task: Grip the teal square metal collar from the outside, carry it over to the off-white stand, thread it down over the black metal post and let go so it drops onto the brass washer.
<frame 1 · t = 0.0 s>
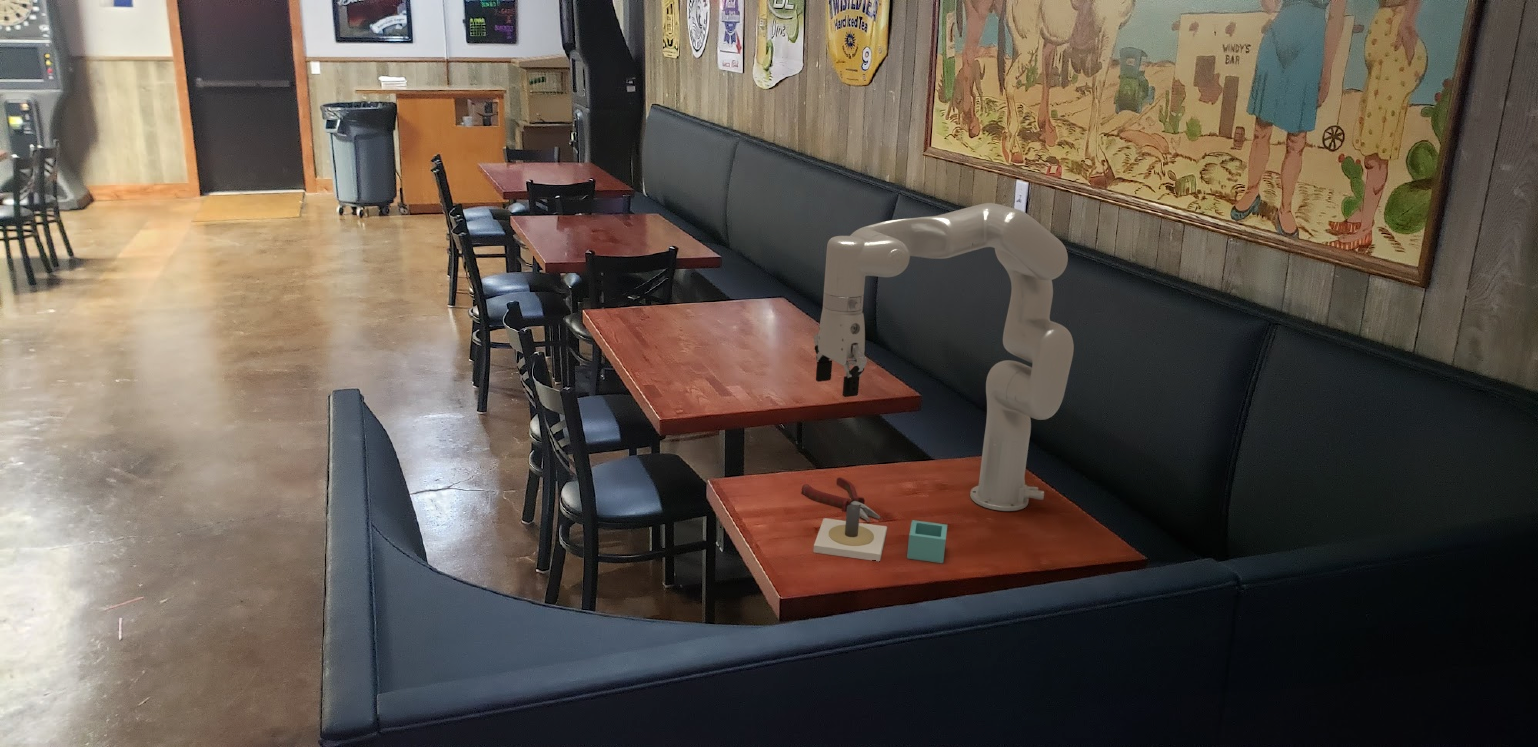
hand: (836, 388, 219), 31 cm above the table, tool pointing down, fingers open, 9 cm apart
pliers: (838, 506, 244), on the table
collar: (926, 552, 223), on the table
post stand: (850, 542, 226), on the table
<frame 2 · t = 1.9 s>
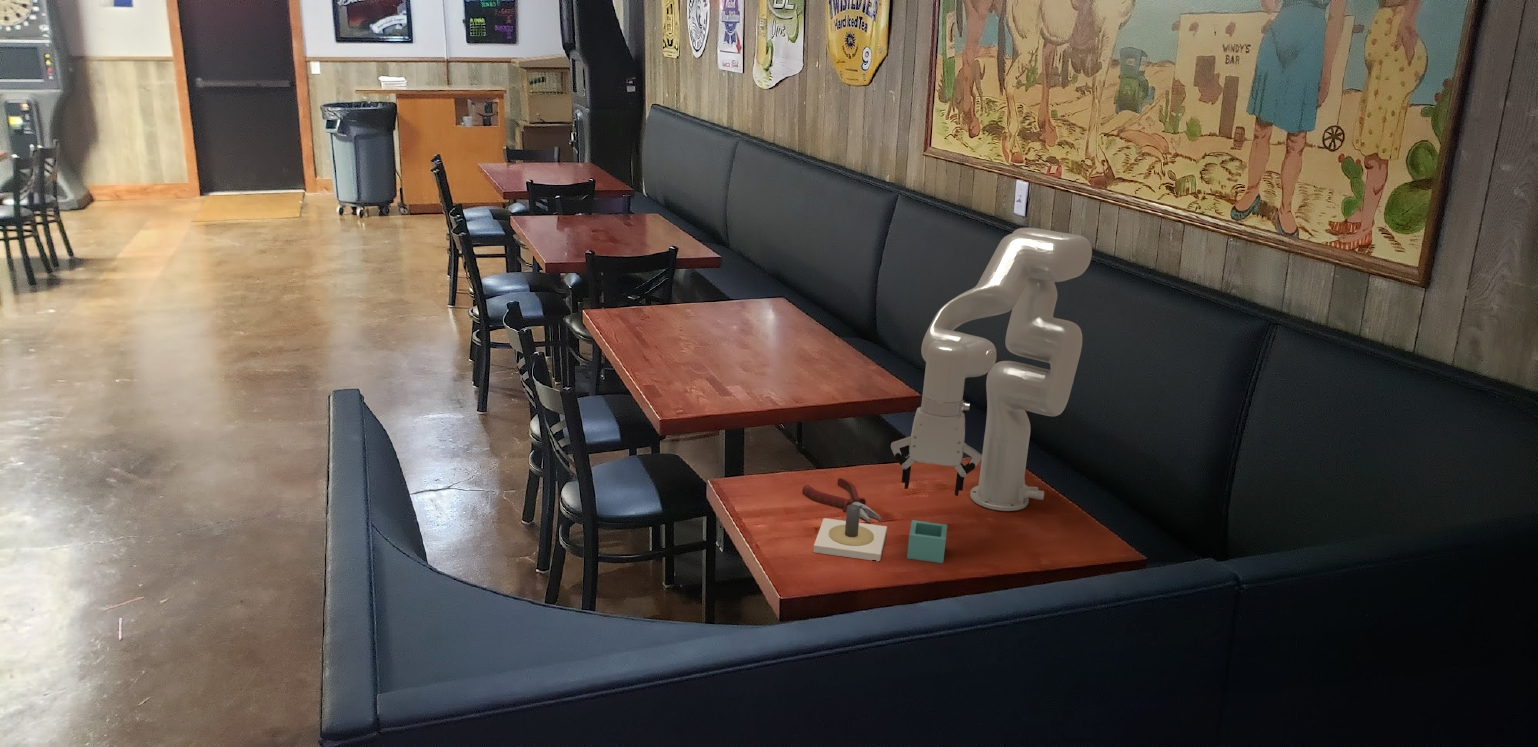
hand: (931, 489, 219), 14 cm above the table, tool pointing down, fingers open, 9 cm apart
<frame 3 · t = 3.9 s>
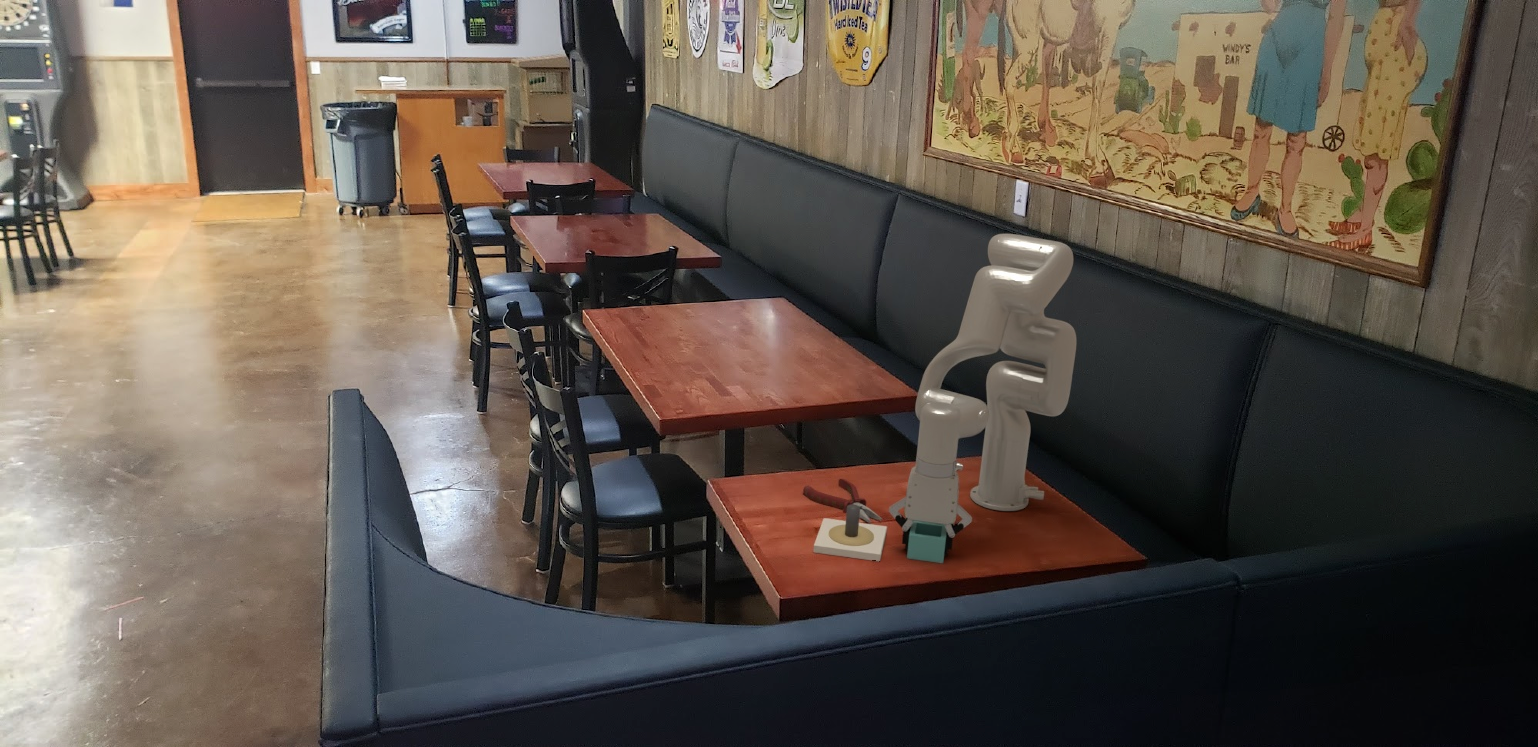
hand: (926, 549, 223), 1 cm above the table, tool pointing down, fingers closed on collar, 7 cm apart
collar: (926, 552, 223), on the table, touching gripper
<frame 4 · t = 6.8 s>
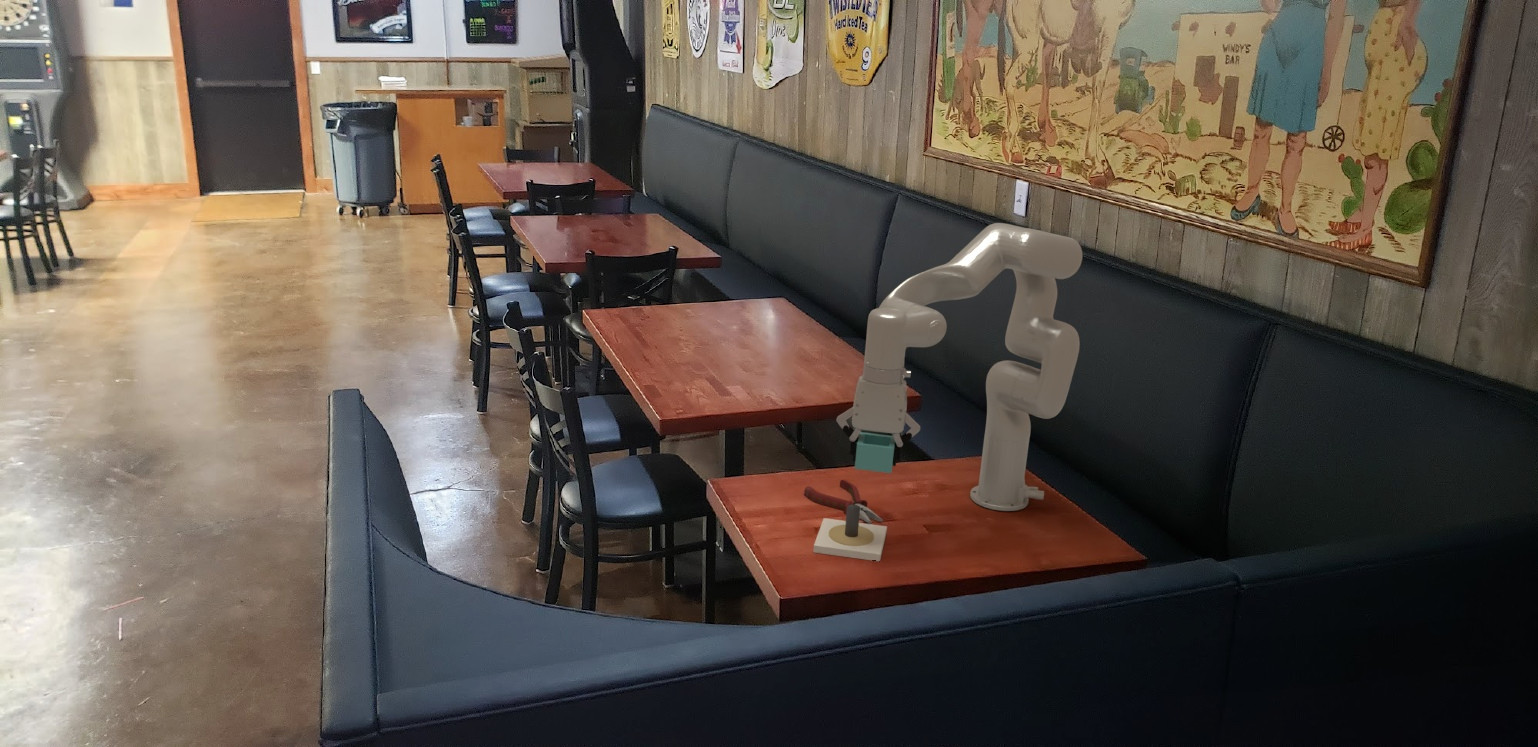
hand: (874, 460, 220), 18 cm above the table, tool pointing down, fingers closed on collar, 7 cm apart
collar: (874, 464, 220), point 17 cm above the table, touching gripper
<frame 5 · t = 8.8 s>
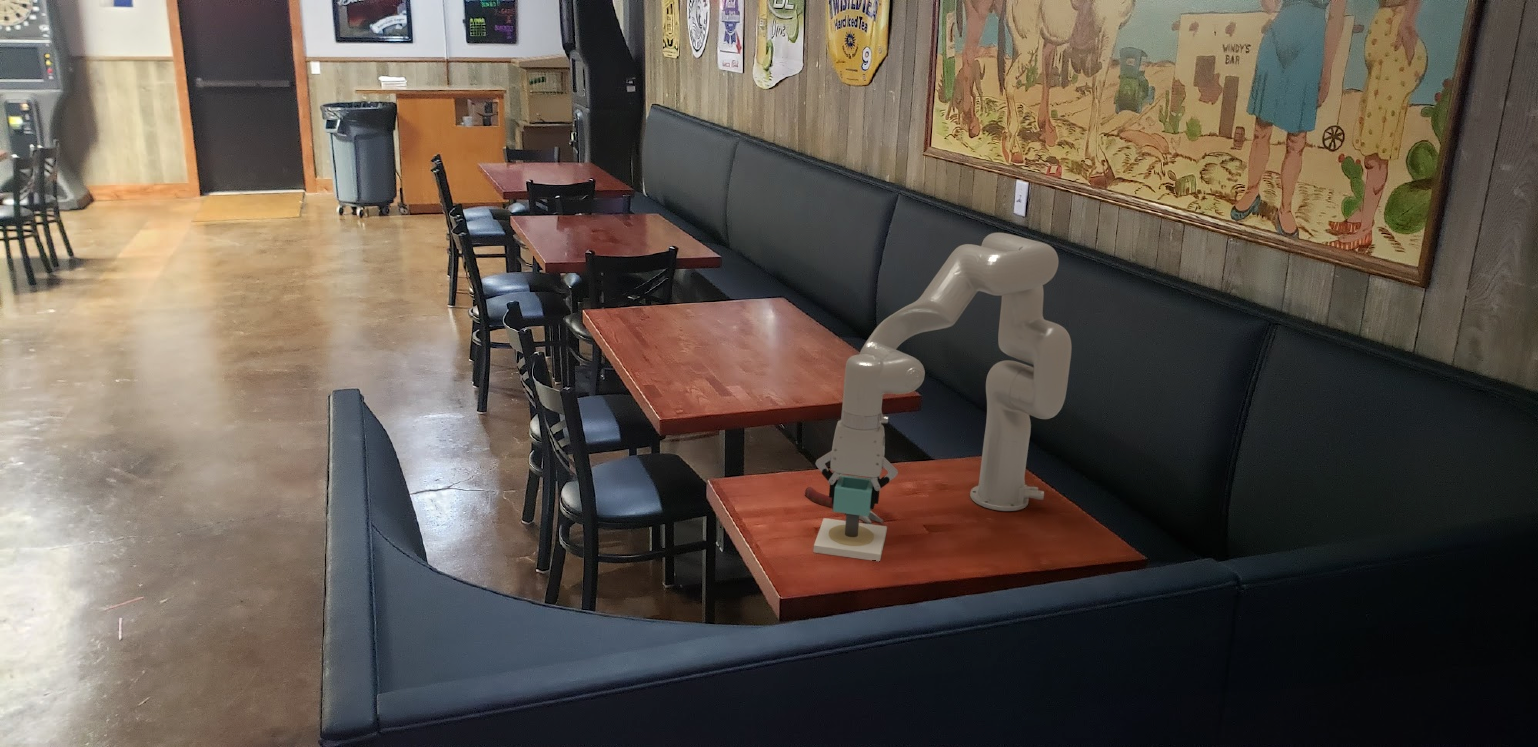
hand: (853, 503, 223), 9 cm above the table, tool pointing down, fingers closed on collar, 7 cm apart
collar: (852, 506, 223), point 8 cm above the table, touching gripper
when the fingers open (7 cm above the table, at t = 10.1 s): collar drops 4 cm, resting on post stand.
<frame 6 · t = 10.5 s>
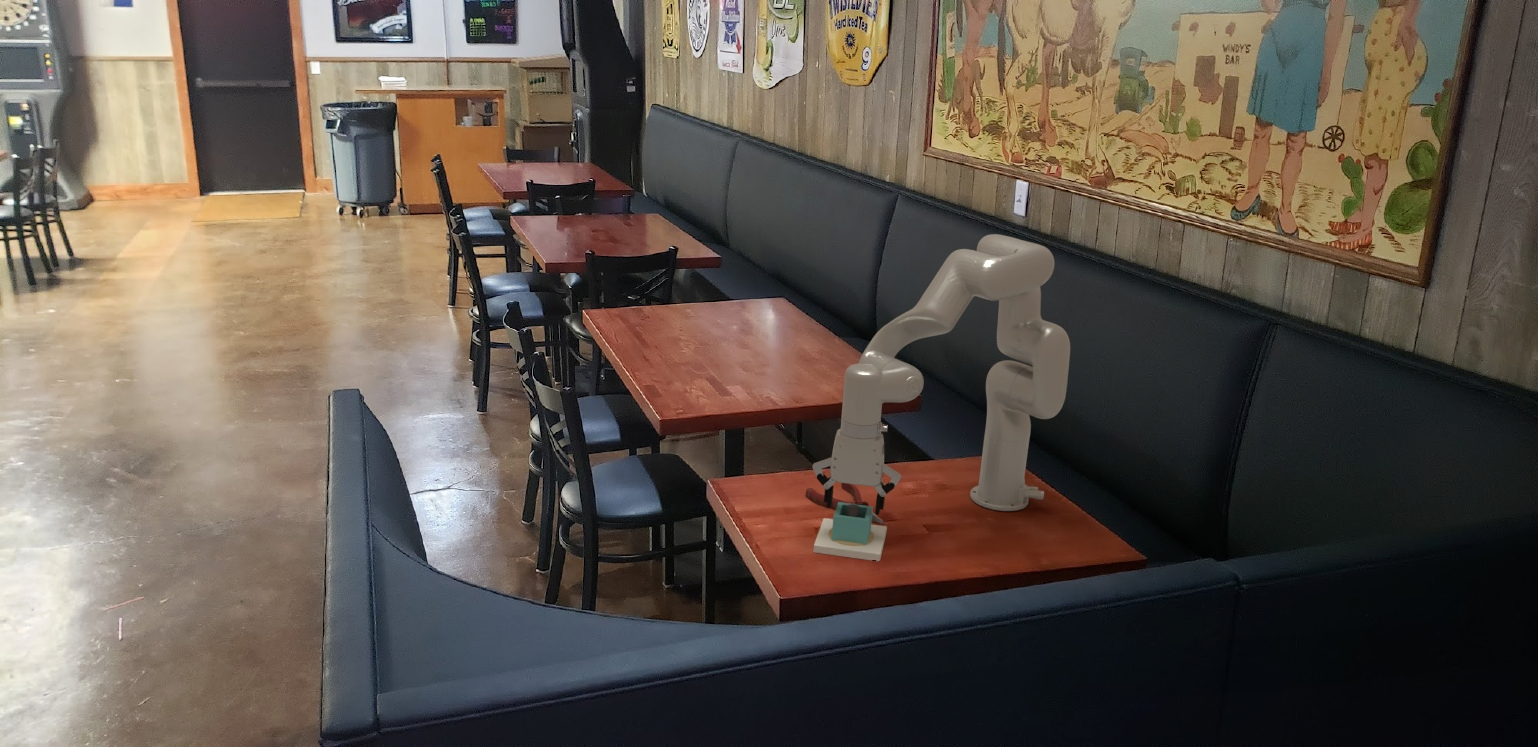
hand: (853, 508, 224), 7 cm above the table, tool pointing down, fingers open, 9 cm apart
collar: (851, 534, 225), point 2 cm above the table, touching post stand
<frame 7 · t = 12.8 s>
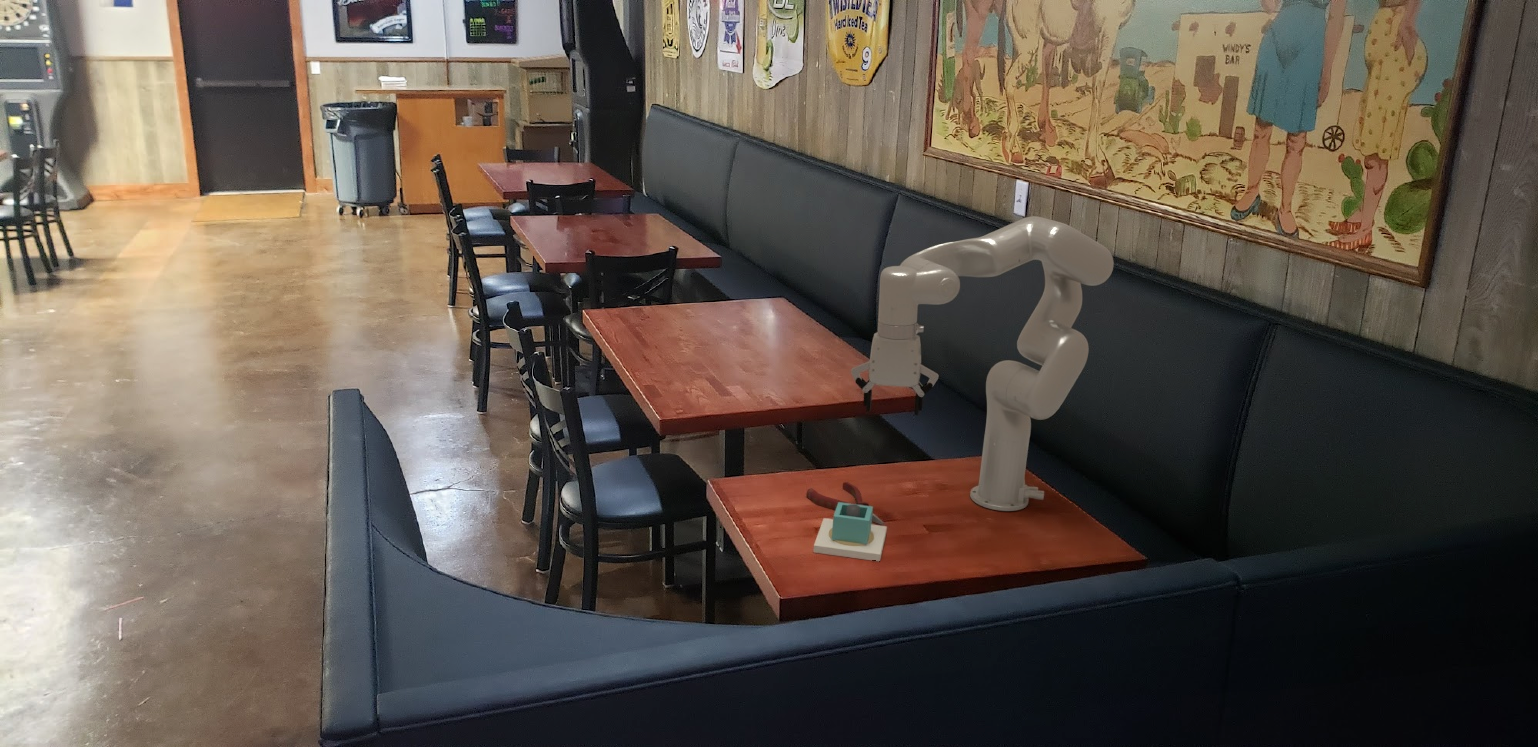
hand: (892, 411, 228), 25 cm above the table, tool pointing down, fingers open, 9 cm apart
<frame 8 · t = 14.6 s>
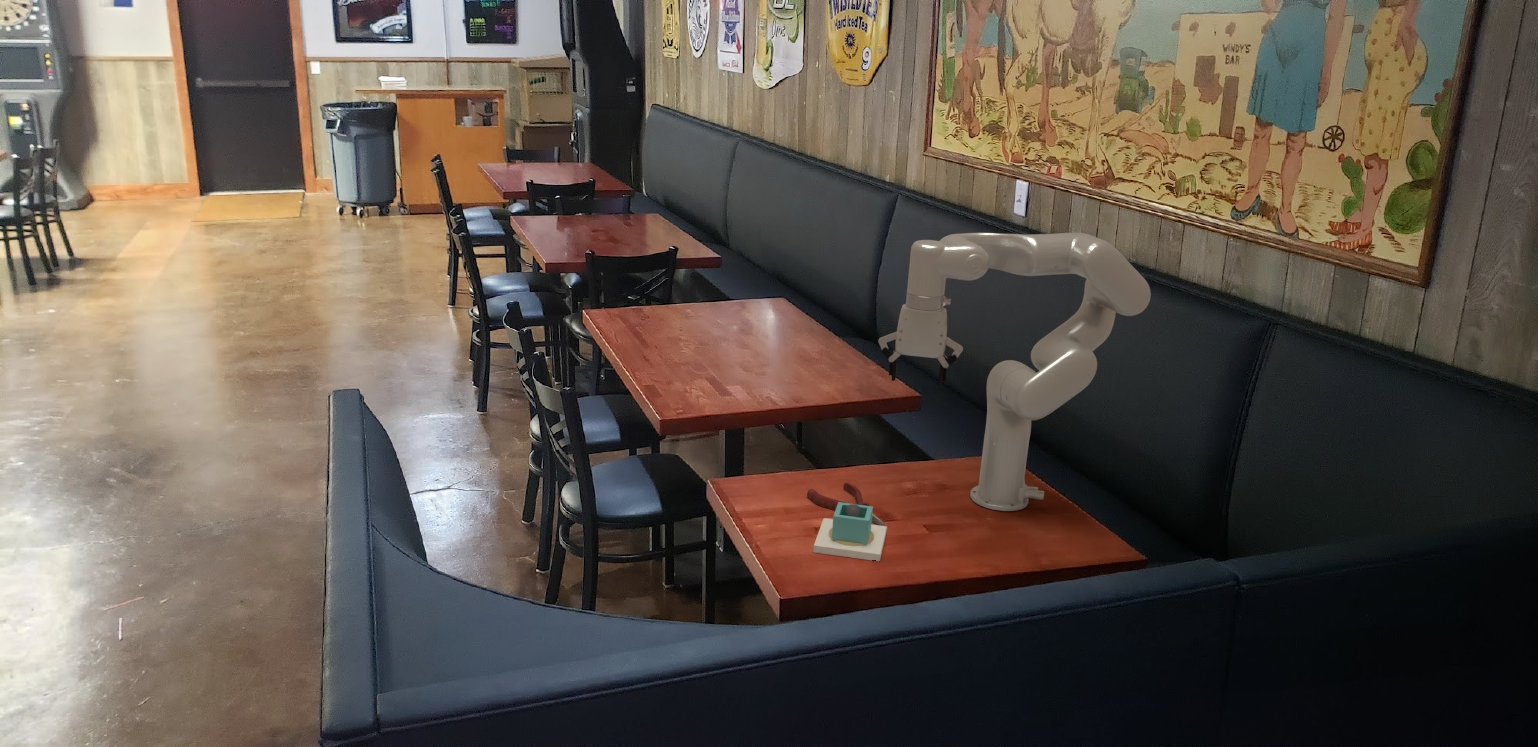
hand: (916, 381, 235), 28 cm above the table, tool pointing down, fingers open, 9 cm apart
at the end: collar 0.0 cm off-centre on the post stand, point 1.8 cm above the post stand's base; collar tilted 0°; the gripper is holding nothing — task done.
